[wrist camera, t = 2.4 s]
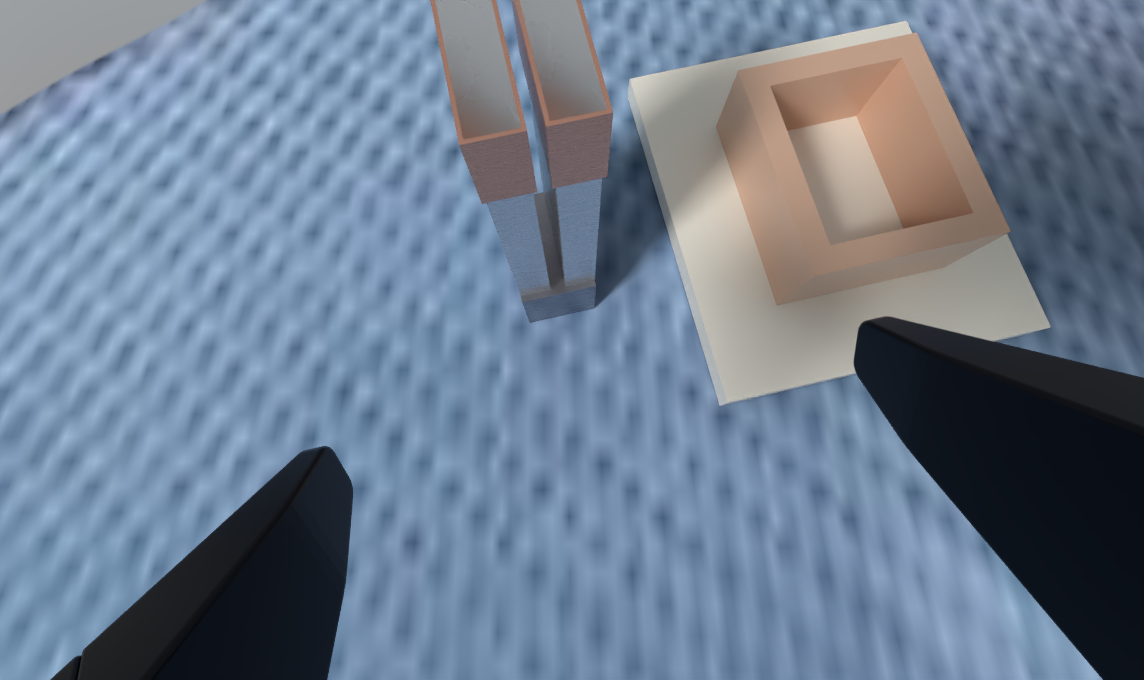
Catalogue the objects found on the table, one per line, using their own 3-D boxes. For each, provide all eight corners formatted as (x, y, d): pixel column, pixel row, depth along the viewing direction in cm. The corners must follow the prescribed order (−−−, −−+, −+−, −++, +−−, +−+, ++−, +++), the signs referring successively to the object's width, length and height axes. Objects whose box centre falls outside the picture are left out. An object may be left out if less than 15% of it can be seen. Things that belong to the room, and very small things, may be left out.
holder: (1026, 334, 22) (1141, 301, 18) (719, 406, 22) (756, 391, 17) (891, 40, 26) (958, -50, 21) (627, 96, 25) (637, 16, 21)
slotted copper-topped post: (596, 307, 23) (614, 118, 10) (527, 323, 23) (460, 151, 10) (574, 219, 24) (566, -51, 11) (508, 233, 24) (425, -24, 11)
